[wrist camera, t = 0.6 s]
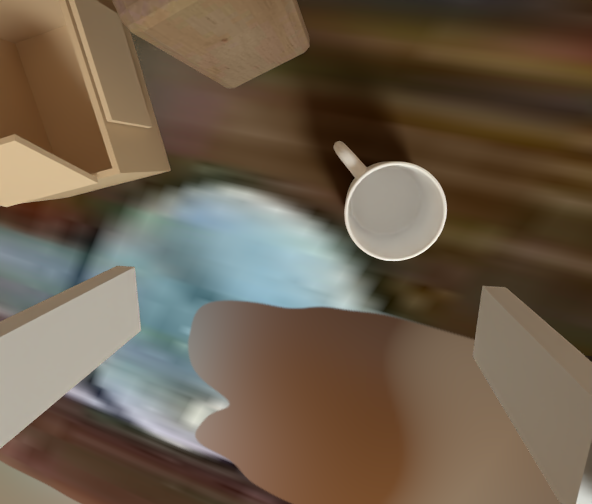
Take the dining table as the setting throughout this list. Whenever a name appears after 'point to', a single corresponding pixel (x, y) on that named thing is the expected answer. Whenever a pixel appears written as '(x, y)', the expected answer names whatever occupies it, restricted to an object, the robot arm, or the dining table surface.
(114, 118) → the carton
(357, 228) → the cup
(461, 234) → the dining table surface
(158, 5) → the wooden block
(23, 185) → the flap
